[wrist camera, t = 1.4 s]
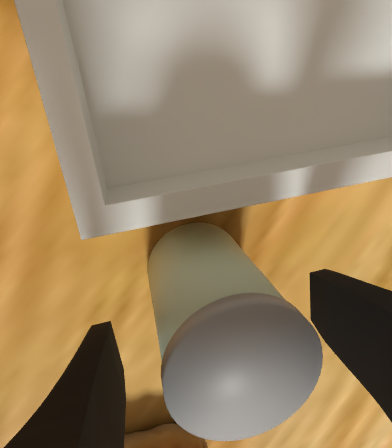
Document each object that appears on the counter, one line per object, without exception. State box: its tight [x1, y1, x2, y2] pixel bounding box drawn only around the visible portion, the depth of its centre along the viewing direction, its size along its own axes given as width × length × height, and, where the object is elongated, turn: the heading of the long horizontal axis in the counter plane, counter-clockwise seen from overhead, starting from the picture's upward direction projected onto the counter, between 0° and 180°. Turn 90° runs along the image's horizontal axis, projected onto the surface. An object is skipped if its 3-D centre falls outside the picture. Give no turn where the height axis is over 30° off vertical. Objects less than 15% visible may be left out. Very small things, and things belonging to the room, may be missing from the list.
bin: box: [14, 0, 392, 240], centre depth 12 cm, size 16×13×3 cm
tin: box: [148, 222, 323, 441], centre depth 13 cm, size 5×5×7 cm
